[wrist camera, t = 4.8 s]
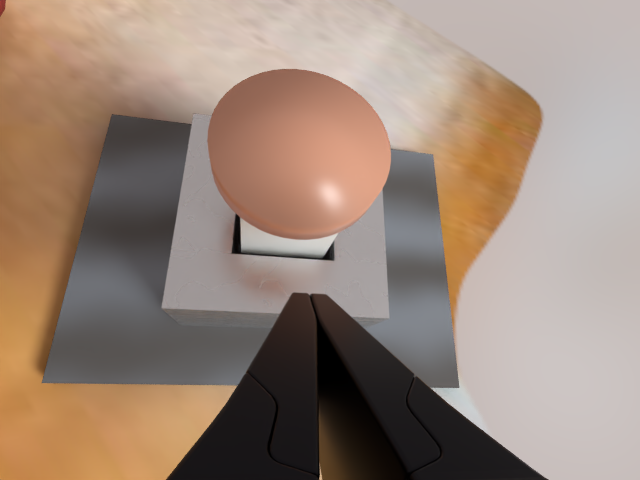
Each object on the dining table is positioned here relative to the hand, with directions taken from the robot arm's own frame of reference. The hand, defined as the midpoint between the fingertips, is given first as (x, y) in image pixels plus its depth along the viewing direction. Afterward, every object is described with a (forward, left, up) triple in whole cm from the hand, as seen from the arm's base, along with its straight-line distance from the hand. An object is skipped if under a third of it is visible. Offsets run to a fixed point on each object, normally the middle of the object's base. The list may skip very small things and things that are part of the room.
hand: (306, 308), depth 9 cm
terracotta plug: (+4, +5, -9) cm, 10 cm away
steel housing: (+4, +5, -12) cm, 14 cm away
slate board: (+4, +5, -13) cm, 15 cm away
